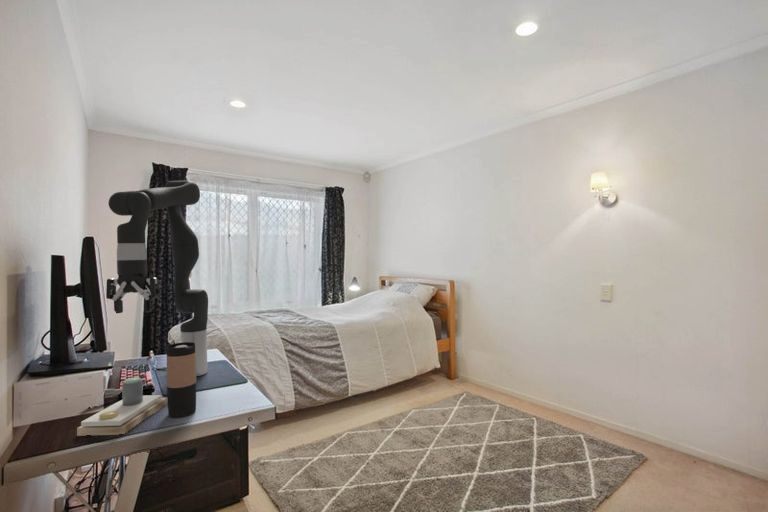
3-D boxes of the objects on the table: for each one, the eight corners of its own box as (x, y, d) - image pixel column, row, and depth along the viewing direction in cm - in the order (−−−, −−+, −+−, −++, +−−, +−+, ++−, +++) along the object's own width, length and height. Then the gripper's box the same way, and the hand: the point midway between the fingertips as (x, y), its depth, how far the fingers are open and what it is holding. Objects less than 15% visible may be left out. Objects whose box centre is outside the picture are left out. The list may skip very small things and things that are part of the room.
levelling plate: (128, 399, 117) (128, 373, 117) (161, 398, 117) (161, 372, 117) (81, 426, 98) (80, 395, 98) (120, 425, 98) (120, 394, 98)
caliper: (89, 410, 115) (88, 389, 115) (87, 409, 116) (86, 388, 116) (154, 388, 134) (154, 370, 134) (153, 388, 134) (152, 370, 134)
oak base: (127, 405, 118) (127, 398, 118) (166, 404, 118) (166, 397, 118) (77, 435, 98) (77, 428, 98) (124, 434, 98) (124, 426, 98)
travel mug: (169, 410, 113) (168, 343, 113) (198, 406, 116) (196, 341, 116) (165, 420, 106) (163, 349, 106) (195, 415, 109) (194, 346, 109)
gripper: (163, 257, 117) (164, 310, 117) (116, 258, 117) (118, 311, 117) (148, 258, 110) (150, 314, 110) (98, 259, 109) (100, 315, 110)
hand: (133, 312), depth 114 cm, fingers open, 8 cm apart
